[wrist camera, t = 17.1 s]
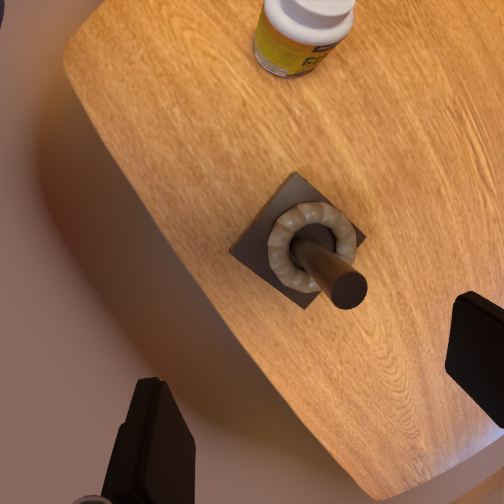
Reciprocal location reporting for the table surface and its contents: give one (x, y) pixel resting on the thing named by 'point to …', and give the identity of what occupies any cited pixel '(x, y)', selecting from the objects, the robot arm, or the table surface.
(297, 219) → the ring
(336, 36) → the supplement bottle
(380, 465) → the table surface
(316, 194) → the stand
